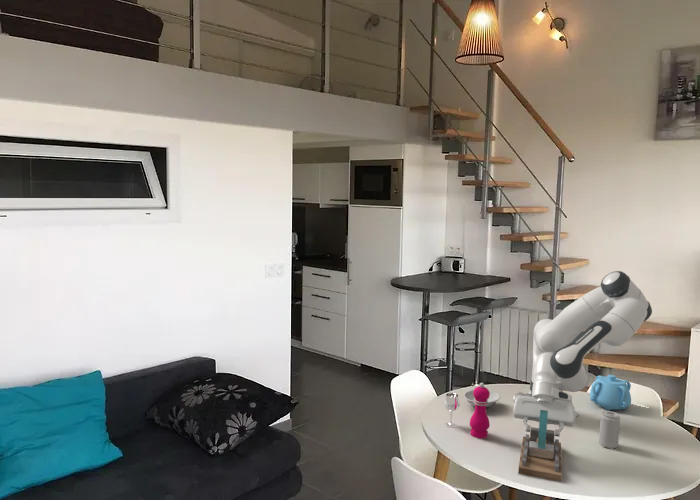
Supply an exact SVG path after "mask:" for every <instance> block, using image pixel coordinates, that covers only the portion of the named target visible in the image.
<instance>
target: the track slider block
mask: <svg viewBox="0 0 700 500" xmlns="http://www.w3.org/2000/svg"><path fill="white" fill-rule="evenodd" d="M547 416H548V411H545V410H540V421H539V422H538V428H539V436H538V442H534V441H529V452H528V455H530V456H536V457H541V458H547V459H553V458H554V445H552V444H546V430H548V429H547V427H548V423H547Z"/></svg>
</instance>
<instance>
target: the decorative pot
mask: <svg viewBox="0 0 700 500" xmlns="http://www.w3.org/2000/svg"><path fill="white" fill-rule="evenodd" d="M631 387H632V386H631V383H630V381H628V379H627V380H626V379H620V378H618V377H617V376H616V375H614V374H608V375H607V376H603V375H597V376H596V377H595V381H593V383H592V384H591V388H590V392H589V400H590V402H593V403H594V404H595V405H597V406H599V407H602V408H604V410H605V411H612V410H626V409H627V408H629V407H630V405H631V403H632V397H631V396H632V395H631V393H630V390H631Z"/></svg>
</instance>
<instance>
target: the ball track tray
mask: <svg viewBox="0 0 700 500" xmlns="http://www.w3.org/2000/svg"><path fill="white" fill-rule="evenodd" d="M538 436H539V427H533V426H530V432H529V434H525V436H522V442H521V448H520V449H521V450H520V457H519V463H518V475H519V474H520V475H525V476H529V477H535V478H541V479H546V480H552V481H557V482H562V442H560V440H559V439H558V438H555V429H553V430H551V429H547V430H546V444H552V445H554V458H553V459H547V458H541V457H536V456H530V455H528V452H529V441H534V442H538Z"/></svg>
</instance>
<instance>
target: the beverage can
mask: <svg viewBox="0 0 700 500" xmlns="http://www.w3.org/2000/svg"><path fill="white" fill-rule="evenodd" d="M599 423H600V424H599V425H600V426H599V434H598V436H599V437H598V443H599V444H600V445H601V446H602V447H603V446H604V447H603V448H605V447H607V448H606V449H609V448H614V449H616V448H617V447H618V446H619V438H620V426H621V418H620V414H619V413H617V412H615V411H612V410H605V411H602V413H601V415H600V422H599Z"/></svg>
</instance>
